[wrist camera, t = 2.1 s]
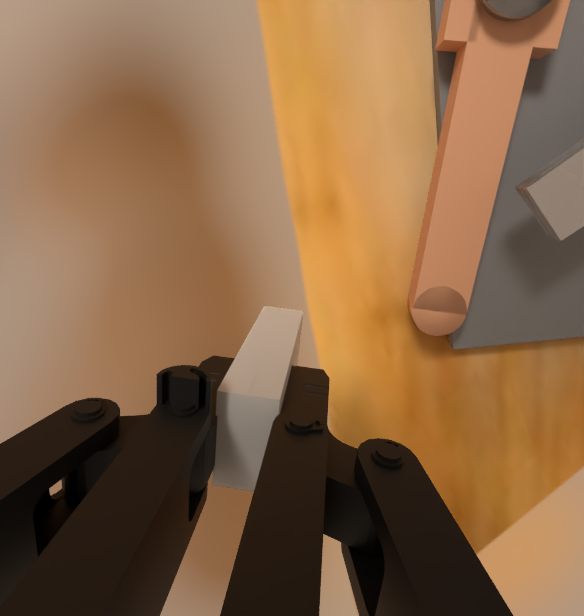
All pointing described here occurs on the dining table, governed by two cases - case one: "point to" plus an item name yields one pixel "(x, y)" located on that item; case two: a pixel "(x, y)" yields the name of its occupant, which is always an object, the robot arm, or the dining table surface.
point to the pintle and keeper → (559, 172)
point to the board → (515, 213)
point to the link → (472, 150)
